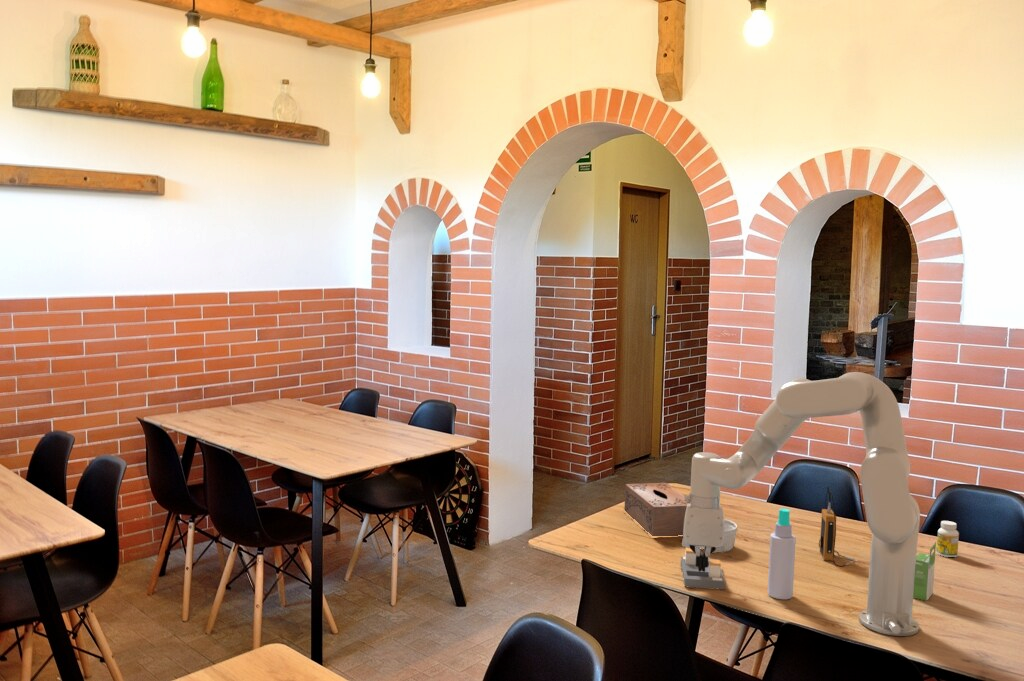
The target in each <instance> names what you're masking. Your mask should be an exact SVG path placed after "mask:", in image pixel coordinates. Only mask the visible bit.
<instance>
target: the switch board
mask: <svg viewBox="0 0 1024 681" xmlns="http://www.w3.org/2000/svg"><path fill="white" fill-rule="evenodd" d="M709 559H710V558H708V568H707V567H705V572H703V571H699V570H698V567H696V565H687V564H685V556H680V567H682V570H681V573H682V572H683V575H682V579H683V578H684V581H683V585H685V586H689V587H688V588H693V587H696V589H706V588H718V589H717V590H720V589H725V588H726V586H725V585H726V581H725V578H724V574H723V570H722V568H720V578H716V577H709ZM711 559H712V560H719V559H716V558H711Z"/></svg>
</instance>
